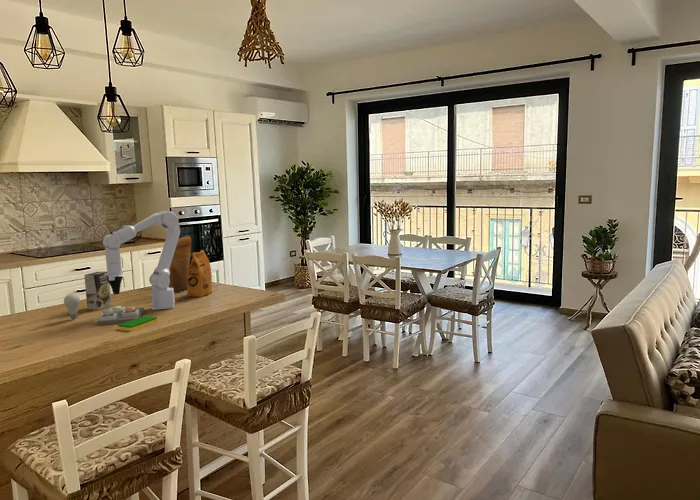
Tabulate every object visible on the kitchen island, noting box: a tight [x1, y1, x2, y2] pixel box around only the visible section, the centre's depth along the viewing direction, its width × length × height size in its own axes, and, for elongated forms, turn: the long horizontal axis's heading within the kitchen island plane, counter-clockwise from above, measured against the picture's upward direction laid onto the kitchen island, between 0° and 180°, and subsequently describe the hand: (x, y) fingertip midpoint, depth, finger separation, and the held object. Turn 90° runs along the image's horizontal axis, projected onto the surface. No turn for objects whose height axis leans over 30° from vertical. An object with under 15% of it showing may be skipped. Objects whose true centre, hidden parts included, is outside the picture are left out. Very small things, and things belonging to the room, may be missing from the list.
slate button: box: [102, 309, 113, 317], centre depth 208 cm, size 4×4×2 cm
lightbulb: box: [63, 293, 81, 320], centre depth 213 cm, size 6×6×11 cm
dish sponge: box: [117, 315, 158, 332], centre depth 203 cm, size 7×14×2 cm, turn 156°
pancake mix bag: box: [168, 235, 192, 294], centre depth 264 cm, size 7×19×28 cm, turn 157°
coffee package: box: [186, 249, 213, 298], centre depth 254 cm, size 10×12×22 cm
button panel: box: [96, 306, 145, 326], centre depth 215 cm, size 15×18×3 cm
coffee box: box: [84, 271, 113, 311], centre depth 233 cm, size 9×6×16 cm
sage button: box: [111, 305, 122, 310], centre depth 218 cm, size 4×4×2 cm
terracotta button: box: [125, 305, 136, 313], centre depth 213 cm, size 4×4×2 cm
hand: (116, 293), depth 218 cm, fingers closed
